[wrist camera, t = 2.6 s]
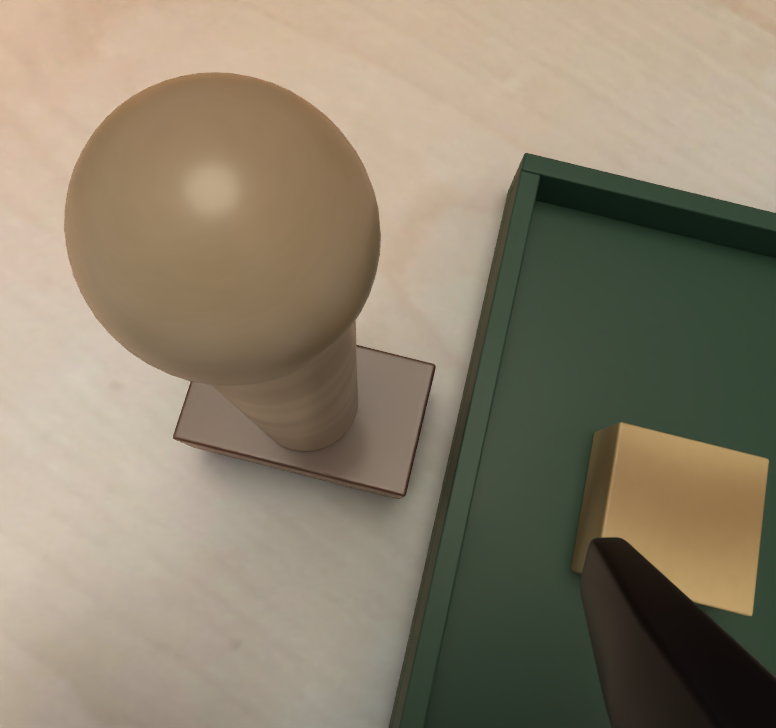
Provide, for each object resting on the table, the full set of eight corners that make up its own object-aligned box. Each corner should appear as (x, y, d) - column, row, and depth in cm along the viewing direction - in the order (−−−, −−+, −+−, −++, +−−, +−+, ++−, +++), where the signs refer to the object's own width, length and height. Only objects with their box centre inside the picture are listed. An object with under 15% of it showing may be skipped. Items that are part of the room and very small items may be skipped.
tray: (808, 887, 17) (875, 942, 15) (377, 775, 18) (380, 812, 15) (858, 274, 21) (915, 246, 19) (508, 189, 22) (525, 151, 19)
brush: (398, 500, 19) (503, 447, 5) (200, 450, 19) (-248, 261, 5) (425, 386, 20) (581, 63, 6) (234, 339, 20) (-68, -92, 6)
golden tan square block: (711, 607, 18) (753, 617, 16) (569, 571, 18) (594, 577, 16) (728, 464, 19) (770, 458, 17) (593, 430, 19) (619, 421, 17)
